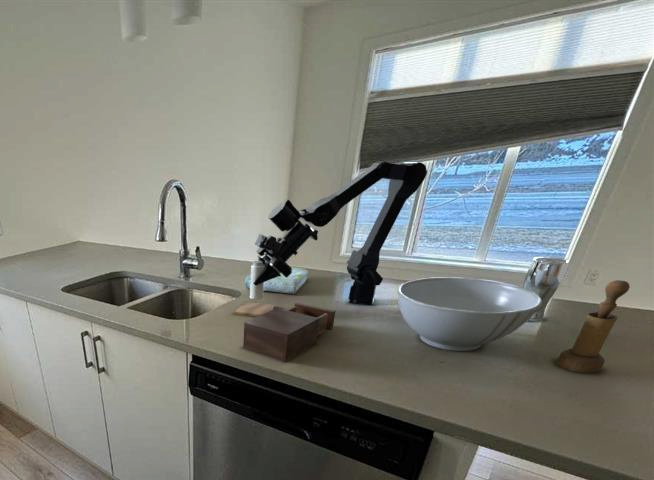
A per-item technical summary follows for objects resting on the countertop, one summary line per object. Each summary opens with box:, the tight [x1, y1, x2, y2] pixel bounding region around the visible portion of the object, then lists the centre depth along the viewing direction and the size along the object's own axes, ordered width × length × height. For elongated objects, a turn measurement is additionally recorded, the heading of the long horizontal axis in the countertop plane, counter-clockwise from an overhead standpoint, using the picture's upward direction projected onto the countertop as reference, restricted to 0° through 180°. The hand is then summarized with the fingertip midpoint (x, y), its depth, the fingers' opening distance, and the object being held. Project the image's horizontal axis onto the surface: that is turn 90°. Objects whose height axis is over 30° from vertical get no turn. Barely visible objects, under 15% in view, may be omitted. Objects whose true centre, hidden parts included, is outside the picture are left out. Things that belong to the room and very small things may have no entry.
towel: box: [244, 266, 309, 295], centre depth 148 cm, size 18×21×5 cm
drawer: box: [286, 302, 336, 336], centre depth 108 cm, size 14×11×5 cm
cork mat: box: [233, 301, 276, 317], centre depth 128 cm, size 10×10×1 cm
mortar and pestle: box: [556, 279, 631, 374], centre depth 80 cm, size 7×6×18 cm
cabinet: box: [242, 307, 319, 362], centre depth 103 cm, size 14×13×7 cm
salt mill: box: [249, 260, 265, 300], centre depth 123 cm, size 4×4×11 cm
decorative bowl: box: [396, 276, 542, 352], centre depth 96 cm, size 27×27×12 cm
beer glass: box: [522, 256, 570, 322], centre depth 103 cm, size 7×7×15 cm
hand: (252, 282), depth 124 cm, fingers closed on salt mill, 4 cm apart
